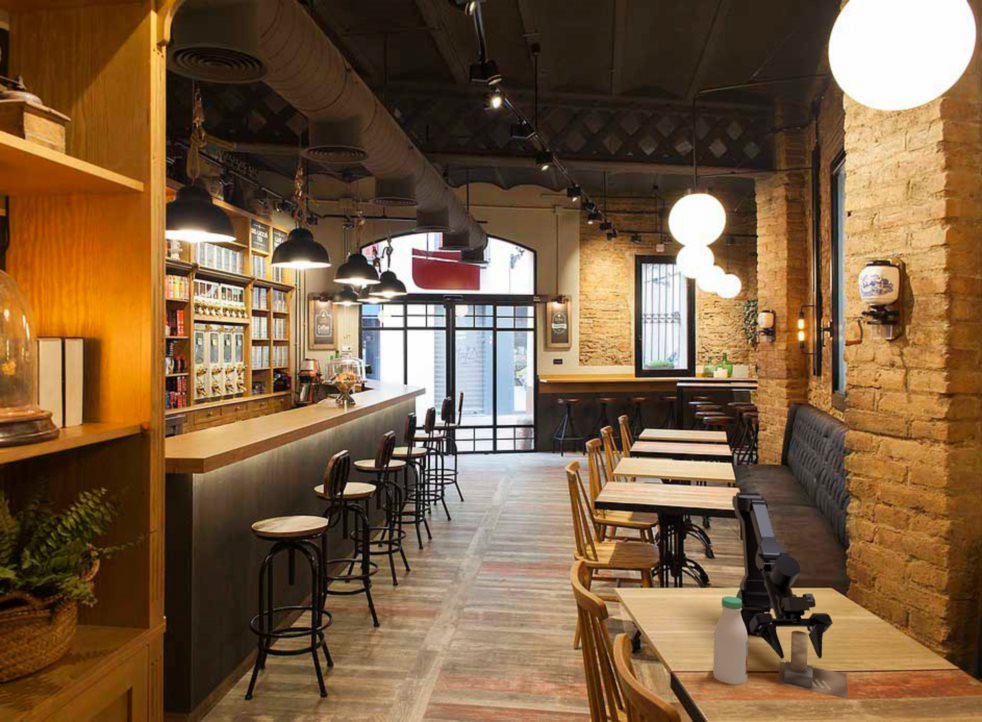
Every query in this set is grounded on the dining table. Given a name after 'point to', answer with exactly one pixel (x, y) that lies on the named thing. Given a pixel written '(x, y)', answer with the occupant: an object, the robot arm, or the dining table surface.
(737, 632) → the milk bottle
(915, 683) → the dining table surface
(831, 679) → the walnut board
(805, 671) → the tan and grey post
